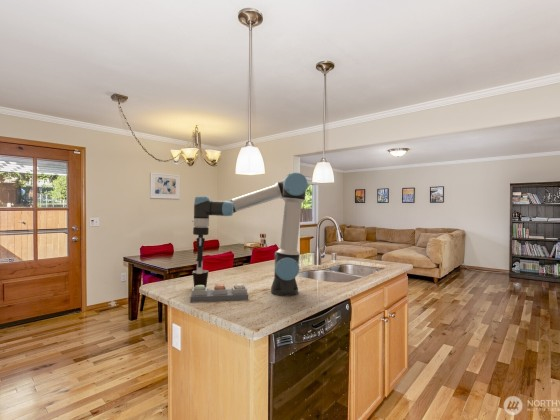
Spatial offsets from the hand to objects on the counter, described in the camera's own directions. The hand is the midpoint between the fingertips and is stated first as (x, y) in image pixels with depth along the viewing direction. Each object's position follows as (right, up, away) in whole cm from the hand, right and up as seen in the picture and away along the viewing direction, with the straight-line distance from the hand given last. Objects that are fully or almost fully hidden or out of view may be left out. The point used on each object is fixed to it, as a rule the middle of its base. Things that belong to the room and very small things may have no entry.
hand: (199, 273), depth 157 cm
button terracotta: (+10, -9, +2) cm, 13 cm away
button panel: (+10, -13, +2) cm, 16 cm away
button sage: (0, -9, 0) cm, 9 cm away
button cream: (+20, -9, +5) cm, 22 cm away
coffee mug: (-4, -13, +19) cm, 23 cm away
